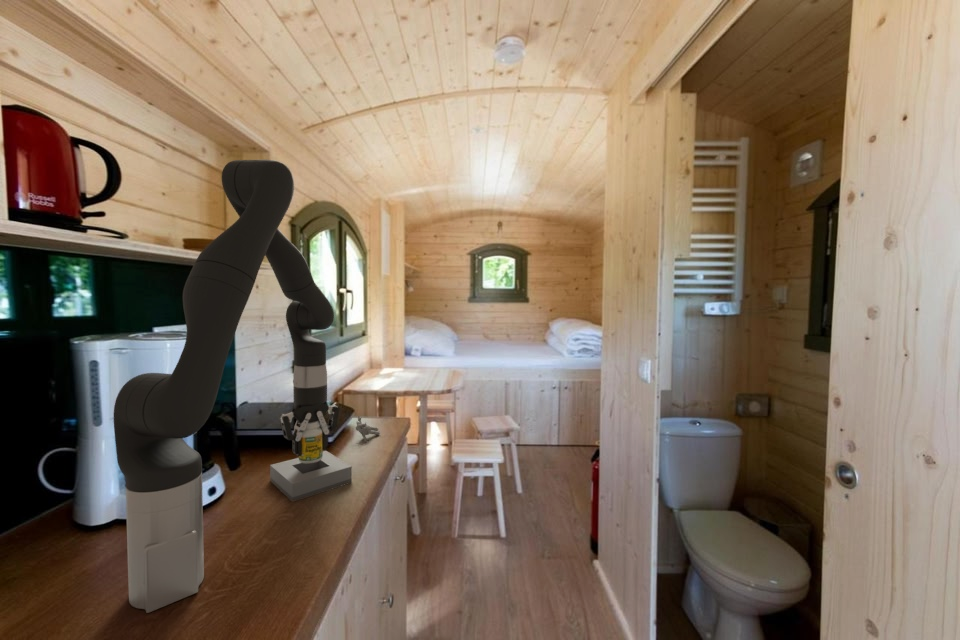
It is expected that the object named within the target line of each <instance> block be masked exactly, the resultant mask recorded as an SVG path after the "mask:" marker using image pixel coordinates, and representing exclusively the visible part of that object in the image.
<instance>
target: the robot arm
mask: <svg viewBox="0 0 960 640" xmlns="http://www.w3.org/2000/svg"><path fill="white" fill-rule="evenodd" d="M221 184H222V188H223V192H224V194H225V195H226V197H227V200H228V201H229V203H230V205H231V206H232V208H233V209H234V211H235V212H236V213H237V215H238V217H239V218H238V219H237V220H235V222H234V223H232V225H230V226H228V228H227V229H225V230H224V231H223V232H221V234H219V235H218V236H217V237H216V238H214V239H213V240H212V241H211V242H210V243H208V244H207V245H206V247H204V248H203V249H202V251H201V252H200V253H199V255H198V257H197V258H196V260H195V262H194V264H193V265H192V268H191V270H190V272H189V275H188V276H187V279H186V281H185V283H184V286H183V290H182V306H183V312H184V318H185V324H186V325H185V326H186V327H185V328H186V338H185V342H184V345H183V349H182V351H181V354H180V356H179V357H178V361H177V363H176V365H175V368H174V369H173V371H172V373H163V372H162V373H161V372H147V373H142V374H139V375H136V376H134V377H132V378H130V379H129V380H128V381H127V382H125V384H124V385H123V386H122V387H121V388H120V390H119V392H118V393H117V396H116V398H115V401H114V407H113V431H114V440H115V442H114V443H115V450H116V451H115V452H116V459H117V465H118V468H119V470H120V472H121V474H122V475H123V476H124V480H125V498H126V499H125V501H126V505H125V506H126V508H125V509H126V511H125V512H126V516H125V517H126V540H127V541H126V546H127V549H126V550H127V576H128V578H127V580H128V583H127V584H128V603H129V604H130V605H131V607H133V608H134V609H135V608H136V609H141V610H145V612H146V614H148V613H151V612H154V611H156V610H158V609H161V608H163V607H166V606H169V605H171V604H173V603H175V602H177V601H180V600H183V599H185V598H188V597H189V596H193V595H195V594H197V593H198V592H199V586H201V584H202V582H203V580H204V577H205V570H204V569H205V565H204V564H205V560H204V559H205V558H204V557H205V556H204V555H205V554H204V553H205V552H204V515H203V514H204V513H203V510H204V509H203V507H204V506H203V462H202V461H203V458H202V456H201V454H200V453H199V452H198V451H197V450H195V449H194V448H193V447H191V446H190V445H189V444H188V443H187V442H186V441H185V438H188V437H190V436H193V435H195V434H196V433H197V432H198V431H200V430H201V428H203V426H204V425H205V424H206V422H207V421H208V419H209V418H210V416H211V414H212V411H213V408H214V407H215V403H216V400H217V397H218V393H219V389H220V385H221V382H222V377H223V374H224V369H225V366H226V362H227V358H228V356H229V353H230V352H229V351H230V349H231V346H232V342H233V340H234V338H235V335H236V331H237V329H238V326H239V323H240V320H241V317H242V315H243V312H244V310H245V308H246V305H247V303H248V302H249V298H250V295H251V293H252V291H253V288H254V285H255V283H256V280H257V277H258V274H259V271H260V268H261V265H262V263H263V261H264V258H266V260H267V261H268V263H269V265H270V267H271V269H272V271H273V274H274V276H275V278H276V280H277V282H278V285H279V286H280V289H281V292H282V293H283V295H284V296H285V297H286V298H287V299H289V300H290V301H292V302H291V303H289V305H288V306H287V309H286V313H285V321H286V325H287V327H288V328H287V329H288V331H289V335H290V338H291V341H292V344H293V348H294V353H293V354H294V368H293V375H292V376H293V379H292V384H293V386H292V387H293V389H292V391H293V408H292V411H291V412H288V413H286V414H284V413H281V414H280V415H279V421H280V427H281V430H282V435H283V438H285V439H286V440H288V441H291V442H292V446H291V447H292V450H291V451H292V453H293V454H295V455H296V456H297V457H299V456H301V440H300V439H301V437H302V434H303V432H304V431H305V429H306V427H307V424H308V423H311V422H315V421H319V426H318V427H319V428H321V430H322V450H323V451H326V450H327V447H328V446H329V434H330V433H331V432H332V431H335V430H336V429H337V424H338V420H339V414H340V406H337V405H335V404H332V405H328V402H327V401H328V371H327V370H328V369H327V347H326V346H327V345H326V342H325V341H323V340H321V339H318V338H315V337H313V336H312V335H311V333H310V330H313V331H324V330H328V328H330V327H331V326H332V324H333V323H334V319H335V313H334V309H333V308H334V307H333V306H332V304H331V302H330V300H329V299H328V297H326V295H325V294H324V293H323V291H322V290H321V289H320V287H319V286H318V285H317V284H316V282H315V280H314V277H313V274H312V272H311V269H310V268H309V265H308V263H307V261H306V258H305V257H304V255H303V253H302V252H301V251H300V250H299V249H298V248H297V247H296V245H295V244H294V243H292V241H291V240H290V239H289V238H288V237H286V235H285V234H284V233H283V232H282V231H281V230H280V229H279V227H280V225H281V223H282V221H283V220H284V218H285V216H286V214H287V211H288V210H289V208H290V206H291V203H292V201H293V197H294V194H295V193H294V192H295V191H294V190H295V181H294V176H293V174H292V171H291V170H290V168H289V167H288V166H287V165H286V164H285V163H283V162H281V161H278V160H274V159H273V160H272V159H235V160H232V161H229V162H228V163H226V164H225V165H224V167H223V169H222V171H221ZM326 414H328V419H327V422H326V419H325V418H324V417H325V416H326ZM293 418H294V419H295V420H296V422H295V424H294V427H293V430H292V426H291V423H292V420H293ZM292 431H293V432H292Z"/></svg>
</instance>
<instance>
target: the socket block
mask: <svg viewBox="0 0 960 640" xmlns="http://www.w3.org/2000/svg"><path fill="white" fill-rule="evenodd" d="M352 468H353V467H352V465H350V464H349V463H347V462H345V461H344V460H342V459H341V458H338V456H336V455H334V454H332V453H331V452H329V451H327V450H323V457H322V459H321V460H320V461H318V462H315V463H309V464H305V463H301V462H300V461H299V457H296V458H293V459H287V460H285V461H280V462H277V463H273V464H272V463H271V464H270V465H269V469H270V470H269V476H270V477H269V478H270V480H269V481H270V482H271V484H273V485H274V487H276V488H277V489H278V490H279V491H280V492H281V493H282V494H283V495H285V496H286V497H287V498H288V499H289V500H290V501H291V502H292V503H293V502H297V501H299V499H300V500H303V499H305V497H306V498H308V496H309V497H311V496H315V495H318V494H321V493H324V492H326V491H329V490H333V489H337V488H340V487H342V486H344V484H345V485H348V484H351V483H352V482H353V481H352V479H353V478H352V470H353V469H352ZM347 483H348V484H347ZM341 485H342V486H341ZM332 488H333V489H332ZM314 494H315V495H314ZM302 498H303V499H302ZM296 500H297V501H296Z"/></svg>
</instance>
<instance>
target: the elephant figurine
mask: <svg viewBox="0 0 960 640" xmlns="http://www.w3.org/2000/svg"><path fill="white" fill-rule="evenodd" d="M355 430H356V431H358V433H360V435H361V437H363V442H364V444H366V443H367V442H368V441H367V440H368V438H367V437H366V436H368V435H375V436H380V435H381V431H379V430H380V428H379V427H378V426H377V427H374V426H370V425H367V422H366V421H365V422H364V423H362V416H360V415H359V416H357V421H356V426H355Z"/></svg>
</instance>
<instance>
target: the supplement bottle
mask: <svg viewBox="0 0 960 640" xmlns="http://www.w3.org/2000/svg"><path fill="white" fill-rule="evenodd" d="M318 426H319V421H315V422H311V423H308V424H307V427H306V429H305V431H304V432H303V434H302V437H301V439H300V440H301V456H298V458H299V461H300V462H301V463H305V464H309V463H315V462H318V461H320V460H321V459H322V457H323V451H324V450H322V430H321V428H319V427H318Z"/></svg>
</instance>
